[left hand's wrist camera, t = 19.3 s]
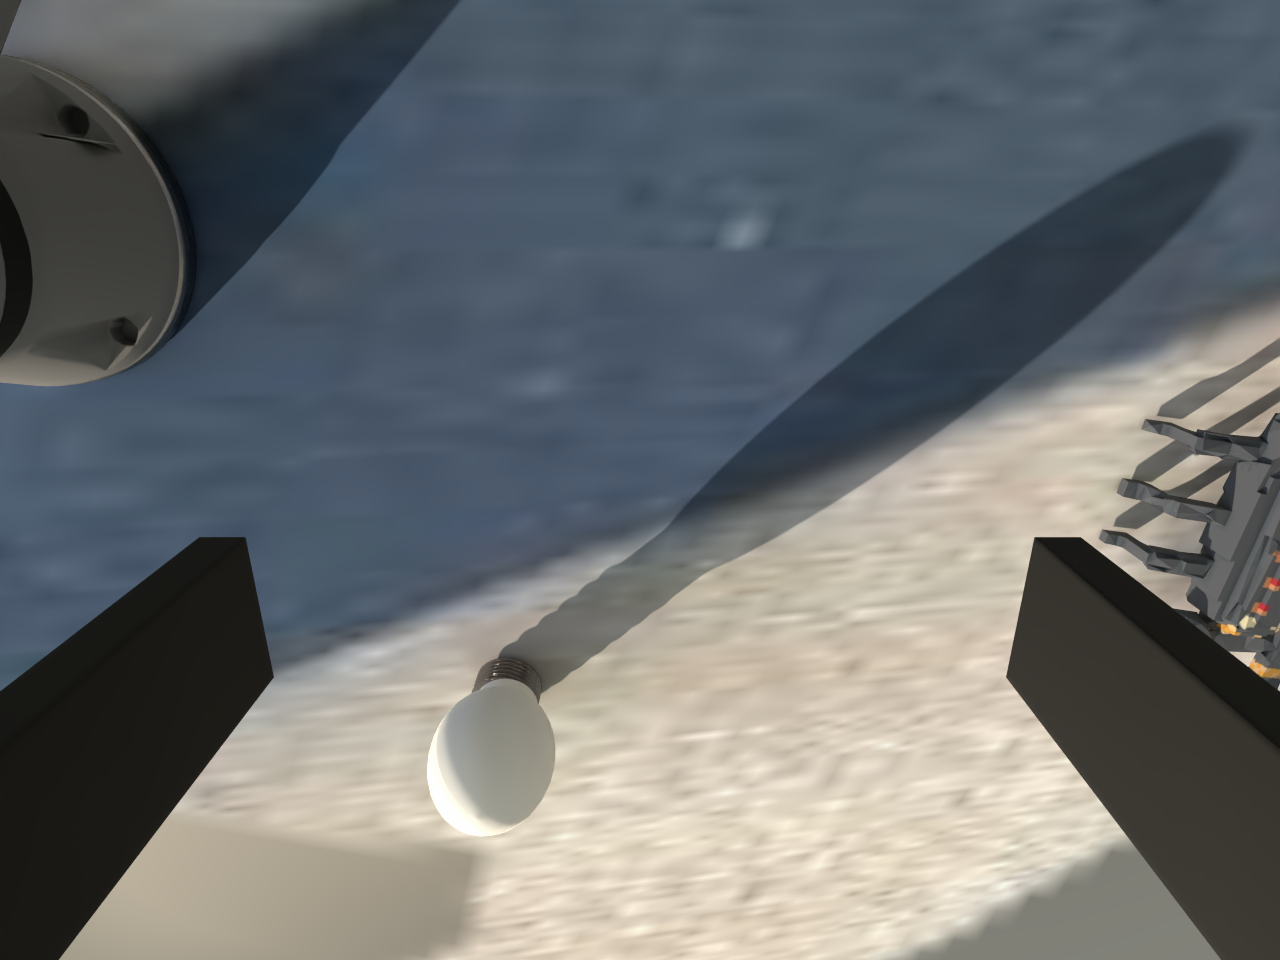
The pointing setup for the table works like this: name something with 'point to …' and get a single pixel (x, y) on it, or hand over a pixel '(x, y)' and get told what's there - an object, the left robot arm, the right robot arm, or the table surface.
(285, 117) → the table surface
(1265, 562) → the toy
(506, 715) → the light bulb
